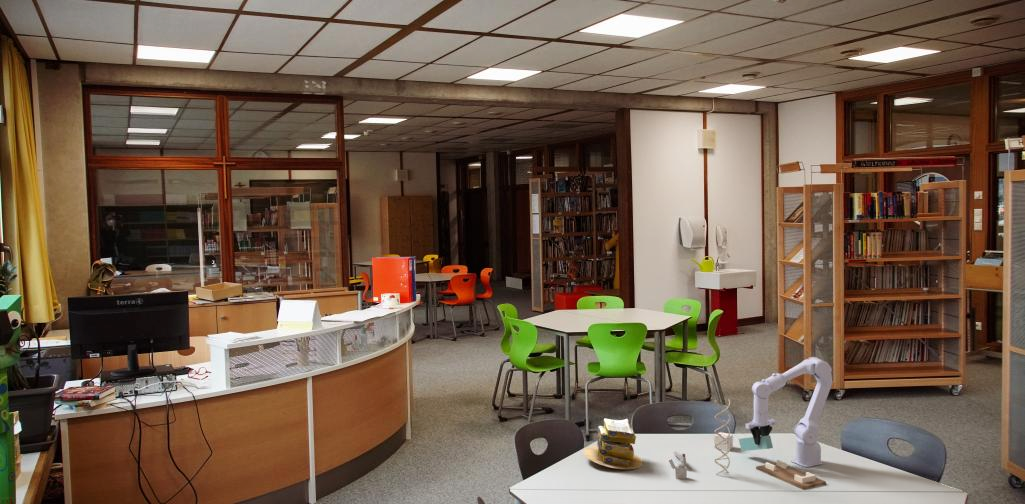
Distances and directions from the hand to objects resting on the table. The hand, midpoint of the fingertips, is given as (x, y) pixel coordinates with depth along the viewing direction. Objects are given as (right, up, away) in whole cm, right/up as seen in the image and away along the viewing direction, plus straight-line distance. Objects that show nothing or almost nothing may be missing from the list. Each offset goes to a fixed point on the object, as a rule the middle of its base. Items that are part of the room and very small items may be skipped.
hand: (760, 443), depth 292 cm
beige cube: (-9, -8, +20) cm, 24 cm away
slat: (-1, -3, +2) cm, 4 cm away
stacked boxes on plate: (-61, -9, +5) cm, 61 cm away
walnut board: (+7, -9, -14) cm, 18 cm away
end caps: (+7, -9, -14) cm, 18 cm away
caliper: (-33, -9, +4) cm, 34 cm away
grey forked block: (-38, -10, -15) cm, 42 cm away
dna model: (-19, -9, -11) cm, 24 cm away
